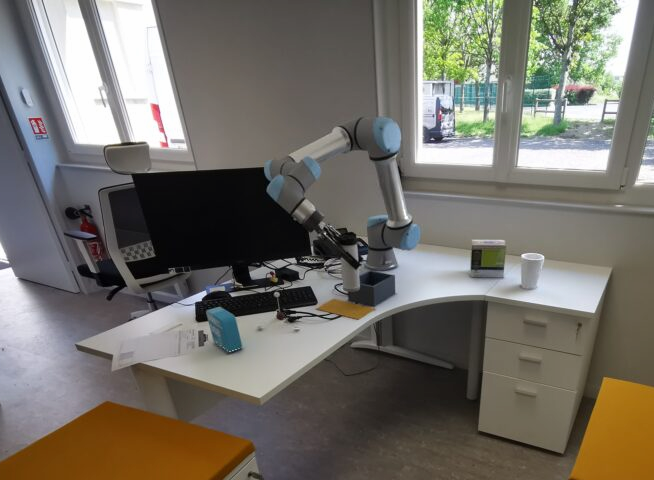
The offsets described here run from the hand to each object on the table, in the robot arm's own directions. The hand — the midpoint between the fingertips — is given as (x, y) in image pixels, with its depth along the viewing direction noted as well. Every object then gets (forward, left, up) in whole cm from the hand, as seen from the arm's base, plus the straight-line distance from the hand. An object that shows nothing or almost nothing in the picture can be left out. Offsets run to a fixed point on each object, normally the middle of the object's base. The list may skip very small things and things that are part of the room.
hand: (359, 264), depth 163 cm
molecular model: (-19, -26, -19) cm, 37 cm away
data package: (-22, -45, -19) cm, 54 cm away
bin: (-5, +14, -18) cm, 24 cm away
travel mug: (-3, -2, -10) cm, 10 cm away
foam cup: (+47, +57, -19) cm, 76 cm away
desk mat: (-7, -2, -18) cm, 20 cm away
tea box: (+25, +63, -19) cm, 70 cm away
